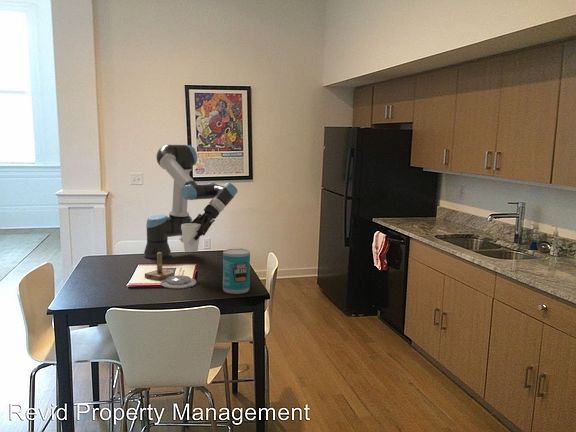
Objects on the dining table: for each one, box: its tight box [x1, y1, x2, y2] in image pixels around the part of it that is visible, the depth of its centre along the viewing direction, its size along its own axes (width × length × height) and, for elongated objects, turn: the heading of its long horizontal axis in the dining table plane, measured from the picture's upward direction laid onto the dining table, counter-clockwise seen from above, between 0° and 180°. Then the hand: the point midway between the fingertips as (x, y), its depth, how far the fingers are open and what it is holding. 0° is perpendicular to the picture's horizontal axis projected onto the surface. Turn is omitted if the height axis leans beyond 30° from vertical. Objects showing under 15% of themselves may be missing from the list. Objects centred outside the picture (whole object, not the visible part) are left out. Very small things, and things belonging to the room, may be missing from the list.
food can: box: [222, 248, 251, 295], centre depth 215 cm, size 12×12×18 cm
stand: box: [144, 252, 176, 282], centre depth 233 cm, size 10×10×12 cm
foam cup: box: [181, 223, 201, 253], centre depth 235 cm, size 10×9×13 cm
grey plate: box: [160, 275, 197, 290], centre depth 223 cm, size 16×16×2 cm
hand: (185, 242), depth 234 cm, fingers closed on foam cup, 9 cm apart
